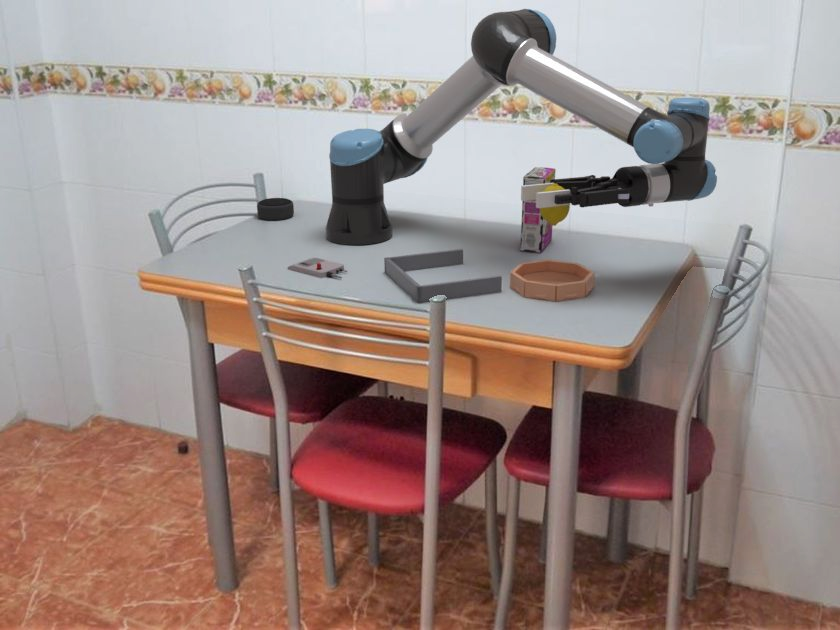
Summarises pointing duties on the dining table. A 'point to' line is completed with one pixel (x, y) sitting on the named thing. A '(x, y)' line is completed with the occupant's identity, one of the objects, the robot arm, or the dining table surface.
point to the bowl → (552, 280)
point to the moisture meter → (318, 267)
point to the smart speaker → (275, 209)
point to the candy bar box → (535, 214)
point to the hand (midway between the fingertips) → (529, 196)
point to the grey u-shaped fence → (449, 289)
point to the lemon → (554, 209)
